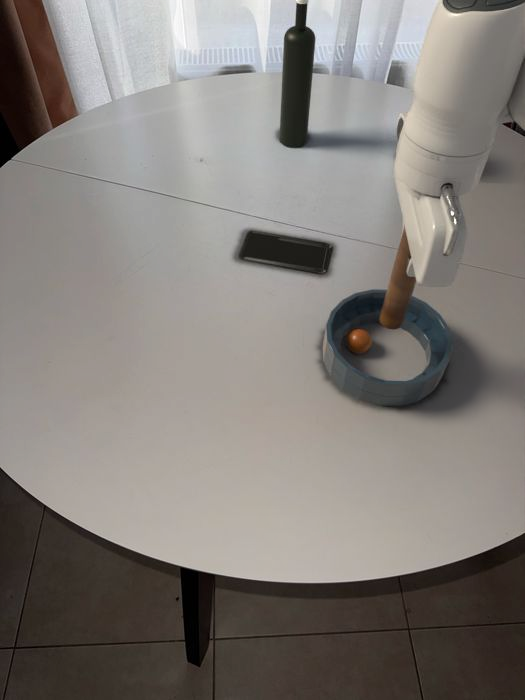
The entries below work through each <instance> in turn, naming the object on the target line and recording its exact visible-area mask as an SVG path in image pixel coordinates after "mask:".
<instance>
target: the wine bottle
mask: <svg viewBox="0 0 525 700" xmlns="http://www.w3.org/2000/svg"><path fill="white" fill-rule="evenodd" d="M295 3H296V4H295V18H294V19H295V21H294V25H293V26H291V27H289V28H287V30H286V31H285V33H284V36H283V53H282V71H281V73H282V74H281V94H280V96H281V97H280V117H279V118H280V119H279V120H280V121H279V142H280V144H281V145H283V146H284V147H287V148H294V149H295V148H301V147H303V146H304V145H306V143H307V141H308V133H309V132H308V131H309V121H310V120H309V119H310V111H311V110H310V108H311V98H312V97H311V96H312V95H311V94H312V87H313V86H312V84H313V75H314V74H313V73H314V64H315V63H314V61H315V50H316V35H315V34H316V33H315V32H314V31H313V29H312V28H310V27H309V26H307V16H308V3H309V0H295Z"/></svg>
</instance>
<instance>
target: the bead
mask: <svg viewBox="0 0 525 700" xmlns="http://www.w3.org/2000/svg"><path fill="white" fill-rule="evenodd" d="M372 343H373V342H372V336H371V334H370V333H369V332H368V331H367V330H365V329H360V328H357V329H352V330H351V332H349V333H348V335H347V338H346V346H347V348H348V350H349V351H350V352H352V353H354V354H357V355H358V354H359V355H361V354H365V353H366V352H368V351H369V350H370V348H371V347H372Z"/></svg>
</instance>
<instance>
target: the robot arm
mask: <svg viewBox="0 0 525 700" xmlns="http://www.w3.org/2000/svg"><path fill="white" fill-rule="evenodd" d="M429 20H430V21H429V22H428V27H427V29H426V31H425V35H424V38H423V41H422V45H421V49H420V51H419V57H418V59H417V64H416V68H415V71H414V72H415V73H414V76H413V82H412V83H413V84H412V92H413V99H412V104H411V107H410V108H409V110H408V112H400V113H399V115H398V118H397V121H396V128H395V129H396V138H397V146H396V151H395V159H394V163H393V169H394V170H393V173H394V174H393V176H394V178H393V179H394V184H395V187H396V193H397V197H398V202H399V207H400V211H401V217H402V230H401V231H402V232H401V234H402V233H403V230H404V226H405V230H406V235H407V239H408V244H409V249H410V253H411V257H408V259H407V264H406V271H407V275H408V276H409V277H416V285H417V286H419V287H425V288H426V287H427V288H447V287H450V286H451V285H453V283H454V282H455V279H456V278H457V274H458V272H459V268H460V265H461V262H462V259H463V254H464V252H465V247H466V245H467V244H466V243H467V238H468V223H467V220H466V216H465V214H464V213H465V212H464V210H463V206H462V203H461V201H460V200H461V199H460V197H461V196H463V195H464V196H465V195H467V194H468V193H470V192H472V191H473V190H475V189H476V187H477V186H478V185H479V183H480V180H481V177H482V175H483V172H484V169H485V167H486V164H487V162H488V159H489V155H490V153H491V151H492V147H493V145H494V142H495V139H496V134H497V131H498V129H499V128H500V126H501V125H504V124H506V123H514V122H515V123H516V124H517V125H518V126H519V127H520V128H521V129H522V130H523V131H524V132H525V0H439V1H438V3H437V4H436V7H435V9H434V11H433V12H432V15H431V17H430V19H429ZM401 237H402V235H400V239H399V240H400V241H401ZM400 241H399V242H400Z"/></svg>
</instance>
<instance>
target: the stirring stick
mask: <svg viewBox="0 0 525 700" xmlns="http://www.w3.org/2000/svg"><path fill="white" fill-rule="evenodd" d="M402 232H403V233H402ZM402 232H401V236H402V237H401V236H400V239H401V241H399V245H398V248H397V252H396V256H395V260H394V263H393V267H392V270H391V274H390V277H389V281H388V284H387V288H386V290H387V292H386V295H385V299H384V303H383V306H382V310H381V314H380V317H379V321H380V323H379V324H380V325H381V326H383V328H385V329H388V330H398V329H401V328H400V327H401V326H402V324H403V321H404V318H405V315H406V312H407V309H408V306H409V303H410V300H411V297H412V296H413V293H414V291H415V287H416V285H417V281H416V277H409V276H408V275H407V271H406V264H407V259H408V257H411V253H410V249H409V244H408V239H407V235H406V230H405V226H404V230H403V231H402Z"/></svg>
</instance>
